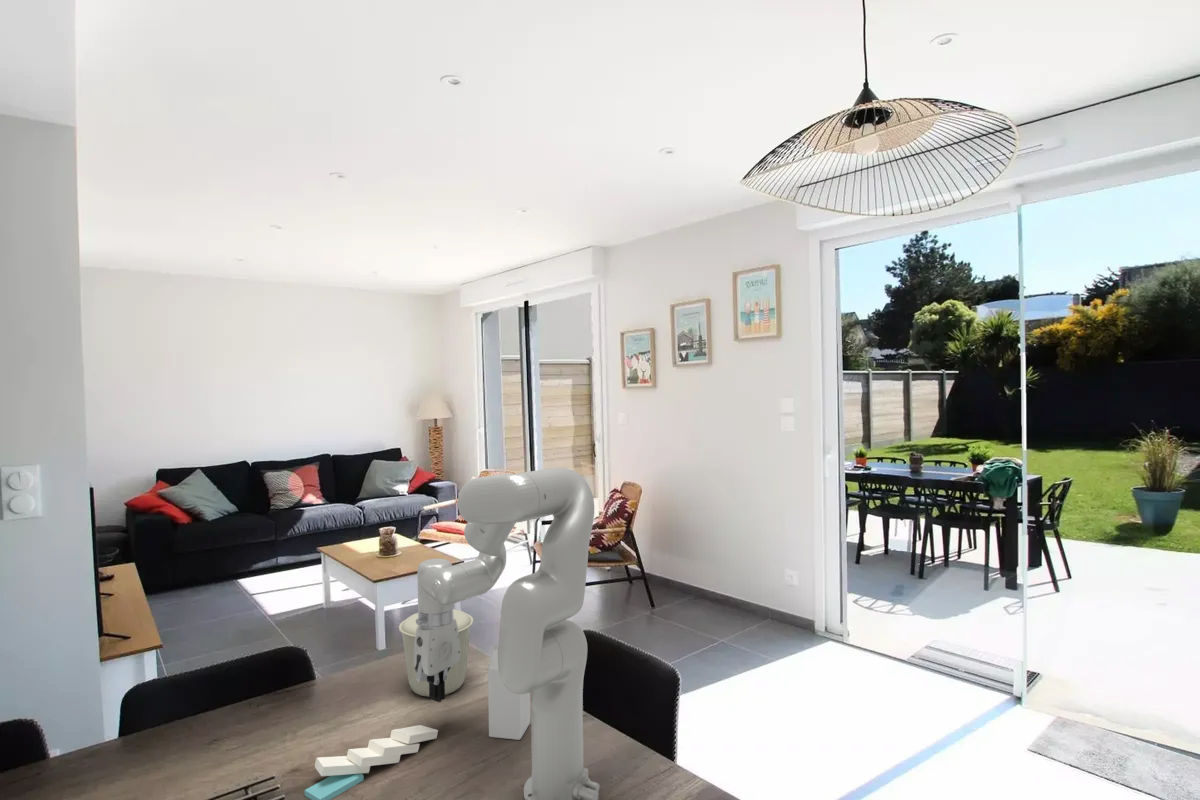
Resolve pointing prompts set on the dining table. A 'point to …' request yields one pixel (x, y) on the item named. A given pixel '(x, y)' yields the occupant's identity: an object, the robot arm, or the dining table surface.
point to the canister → (456, 671)
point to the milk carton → (505, 705)
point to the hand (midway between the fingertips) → (437, 699)
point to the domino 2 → (332, 786)
